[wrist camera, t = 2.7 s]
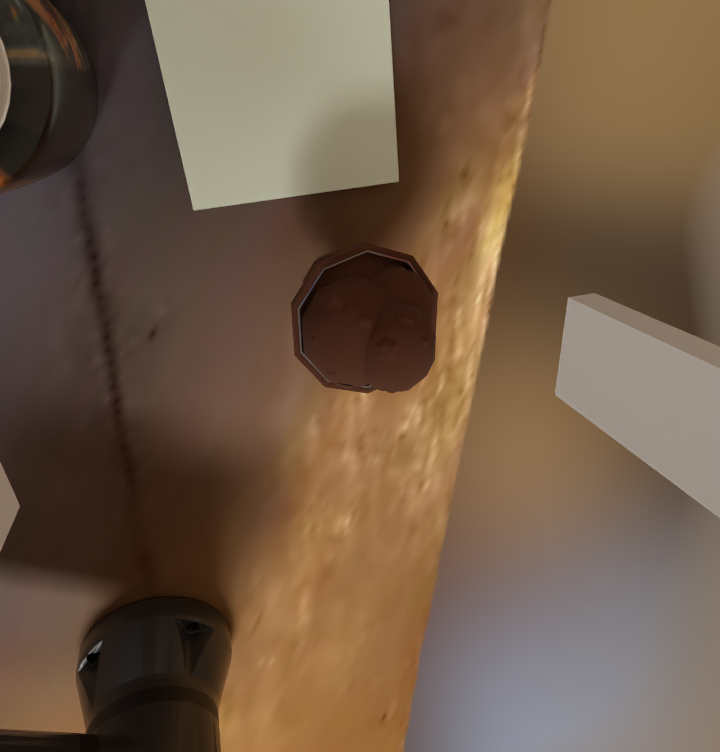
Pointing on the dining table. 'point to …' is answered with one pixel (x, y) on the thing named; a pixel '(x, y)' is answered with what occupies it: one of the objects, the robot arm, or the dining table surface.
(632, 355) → the robot arm
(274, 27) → the board
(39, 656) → the dining table surface
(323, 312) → the ice cream bowl
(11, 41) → the jar
